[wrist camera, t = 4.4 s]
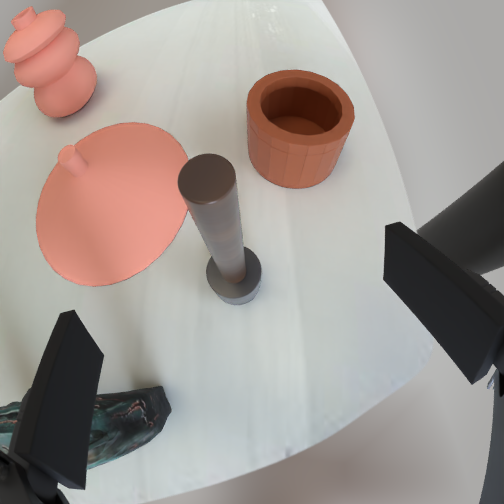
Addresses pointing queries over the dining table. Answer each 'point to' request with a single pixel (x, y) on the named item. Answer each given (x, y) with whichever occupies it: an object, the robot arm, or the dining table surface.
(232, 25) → the dining table surface
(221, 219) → the pestle
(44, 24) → the ceramic vessels
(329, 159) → the jar
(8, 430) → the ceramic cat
